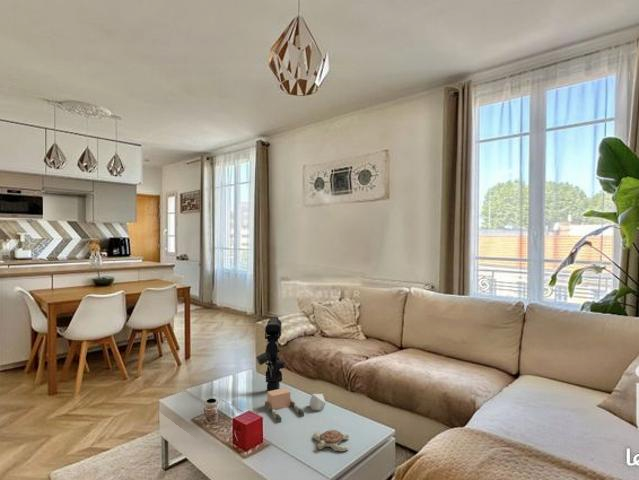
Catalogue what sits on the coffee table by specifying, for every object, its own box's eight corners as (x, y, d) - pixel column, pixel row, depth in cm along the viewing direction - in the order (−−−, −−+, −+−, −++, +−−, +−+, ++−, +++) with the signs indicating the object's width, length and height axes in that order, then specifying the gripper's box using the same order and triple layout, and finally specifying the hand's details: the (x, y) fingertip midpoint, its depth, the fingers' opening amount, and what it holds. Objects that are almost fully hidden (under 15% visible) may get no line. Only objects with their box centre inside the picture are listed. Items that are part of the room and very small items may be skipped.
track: (264, 408, 187) (264, 401, 187) (287, 403, 194) (287, 396, 194) (279, 425, 171) (279, 418, 171) (304, 419, 177) (304, 411, 177)
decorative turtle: (302, 443, 157) (302, 431, 157) (327, 428, 169) (327, 417, 169) (334, 461, 145) (334, 448, 145) (359, 443, 157) (360, 432, 157)
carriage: (267, 405, 188) (267, 391, 188) (285, 401, 193) (285, 387, 193) (271, 410, 183) (271, 396, 183) (290, 405, 188) (290, 392, 188)
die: (319, 417, 180) (330, 399, 183) (304, 407, 181) (315, 389, 184) (319, 415, 188) (329, 398, 190) (305, 406, 189) (315, 388, 192)
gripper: (252, 345, 199) (252, 374, 199) (264, 355, 183) (264, 386, 183) (271, 342, 205) (271, 370, 205) (285, 351, 188) (285, 382, 188)
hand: (272, 377), depth 195 cm, fingers closed
